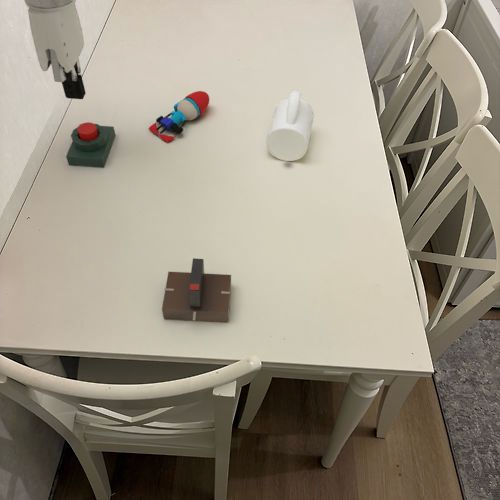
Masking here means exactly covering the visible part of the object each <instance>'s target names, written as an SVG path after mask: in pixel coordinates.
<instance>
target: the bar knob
mask: <svg viewBox="0 0 500 500" xmlns="http://www.w3.org/2000/svg"><path fill="white" fill-rule="evenodd" d="M190 270H191V271H190V273H191V277H190V284H189V291H188V292H189V301H190V308H201V301H202V293H203V284H204V273H205V261H204V258H192V263H191V269H190Z"/></svg>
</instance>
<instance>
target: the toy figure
mask: <svg viewBox="0 0 500 500" xmlns="http://www.w3.org/2000/svg"><path fill="white" fill-rule="evenodd" d="M209 104H210V96H209V93H207V92H206V91H203V90H197V91H193V92H192V93H189V94H188V95H186V96H185V97H184V98H182V99H181V100H180V101H178V102H177V103H175V104H174V105H173V110H174V111H171V112H170V113H168V114H167V115H165V116H163V115H160V116H159V117H157V118H156V119H155V122H154V123H153V124H151V125H150V126H149V127H148V130H149V131H150V132H152V133H153V134H155V135H158V137H159V138H160V139H161V140H163V142H165V143H167V144H168V143H170V142H171V141H173V140H174V139H175V138H176V135H181V133H183V132H184V128H183V127H184V126H185V124H186V123H187V121H193V120H195V119H196V118H199V117H201V116H202V115H203V114H204V113H205V111H206V110H207V108H208V107H209ZM157 123H158V124H159V126H158V125H157ZM180 123H182V124H181V125H179V124H180ZM161 128H163V129H162V130H161V131H160V132H159V130H160V129H161ZM170 130H171V132H172V133H174V134H176V135H174V136H173V135H168V134H163V133H164V132H166V131H170Z"/></svg>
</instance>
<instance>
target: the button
mask: <svg viewBox="0 0 500 500" xmlns="http://www.w3.org/2000/svg"><path fill="white" fill-rule="evenodd" d="M80 124H81V125H80ZM80 124H79V125H78V126H77V127H78V128H77V127H76V128H77V130H78V133H79V137H80V139H81V140H84V141H90V140H94V139H96V138H97V137H98V131H97V127H96V125H95V124H96V123H93V122H89V121H87V122H82V123H80Z"/></svg>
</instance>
